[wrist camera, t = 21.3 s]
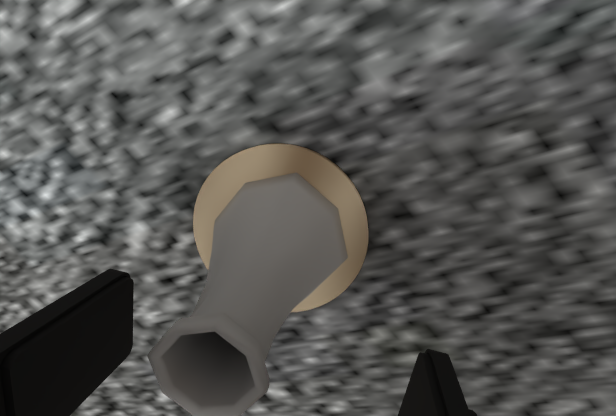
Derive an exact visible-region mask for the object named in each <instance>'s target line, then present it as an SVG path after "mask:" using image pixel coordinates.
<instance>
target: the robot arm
mask: <svg viewBox="0 0 616 416" xmlns="http://www.w3.org/2000/svg"><path fill="white" fill-rule="evenodd" d="M133 284H134V283H133V280H132V279H131V278H130V275H129V274H128V273H126V272H122V271H118V270H114V269H109V270H106V271H105V272H103V273H101V274H100V275H98V276H96V277H95V278H93V279H91V280H90V281H88V282H86V283H85V284H83V285H81V286H80V287H78V288H76V289H75V290H73V291H71V292H70V293H68V294H66V295H65V296H63V297H61V298H60V299H58V300H56V301H55V302H53V303H51V304H50V305H48V306H46V307H45V308H43V309H41V310H39V311H38V312H36V313H34V314H33V315H31V316H29V317H28V318H26V319H24V320H23V321H21V322H19V323H18V324H16V325H14V326H13V327H11V328H9V329H8V330H6V331H4V332H3V333H1V334H0V416H70V415H71V414H72V413H73V412H74V411H75V410H76V409H77V408H78V407H79V406H80V404H81V403H82V402H83V401H84V400H85V399H86V398H87V397H88V396H89V395H90V394H91V393H92V392H93V391H94V390H95V389H96V388H97V387H98V386H99V385H100V384H101V383H102V382H103V381H104V380H105V379H106V378H107V377H108V376H109V375H110V374H111V373H112V372H113V371H114V370H115V369H116V368H117V367H118V366H119V365H120V364H121V363H122V362H123V361H124V360H125V359H126V358H127V356H128V355H129V354H130V352H131V349H132V345H133ZM398 416H477V414H476V413H475V412H474V411H473V410H469V409H468V407H467V404H466V401H465V398H464V396H463V393H462V390H461V387H460V385H459V382H458V379H457V376H456V374H455V371H454V368H453V365H452V363H451V360H450V357H449V355H448V354H446V353H442V352H438V351H434V350H430V349H427V350H426V352H425V353H419V355H418V357H417V360H416V363H415V366H414V369H413V372H412V375H411V378H410V381H409V384H408V387H407V390H406V393H405V396H404V399H403V402H402V405H401V408H400V411H399V414H398Z"/></svg>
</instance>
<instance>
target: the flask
mask: <svg viewBox="0 0 616 416" xmlns="http://www.w3.org/2000/svg"><path fill="white" fill-rule="evenodd" d="M347 258H348V255H347V250H346V246H345V241H344V236H343V231H342V226H341V221H340V216H339V211H338V208H337V207H336V206H334V205H333V204H332V203H331V202H330V201H329V200H328V199H326V198H325V197H324V196H323V195H322V194H321V193H320V192H318V191H317V190H316V189H315V188H314V187H313V186H312V185H310V184H309V183H308V182H307V181H306V180H305V179H304V178H302V177H301V176H300V175H299V174H298V173H292V174H287V175H282V176H277V177H272V178H267V179H262V180H257V181H252V182H247V183H245V184H244V185H243V186H242V187H241V189H240V190H239V191H238V192H237V194H236V195H235V196H234V197H233V198H232V200H231V201H230V202H229V203H228V205H227V206H226V207H225V208H224V210H223V211H222V212H221V213H220V215H219V216H218V217H217V218H216V219H215V223H214V231H213V242H212V252H211V257H210V263H209V269H208V275H207V281H206V285H205V287H204V289H203V291H202V294H201V296H200V298H199V300H198V302H197V305H196V307H195V309H194V311H193V313H192V315H191V316H190V317H185V318H181V319H179V320H178V321H176V322H175V323H174V324H173V326H172V327H171V328H170V329H169V330H168V331H167V332H166V334H165V335H164V336H163V337H162V338H161V339H160V340H159V342H158V343H157V344H156V345H155V346H154V347H153V348H152V350H151V351H150V352H149V354H148V355H147V356H148V358H149V361H150V363H151V366H152V368H153V371H154V373H155V375H156V378H157V380H158V383H159V385H160V388H161V390H162V392H163V393H164V394H165V395H166V396H168V397H169V398H170V399H172V400H173V401H174V402H176V403H177V404H178V405H180V406H181V407H182V408H184V409H185V410H186V411H188V412H189V413H190V414H192V415H193V416H240V415H241V414H243V413H244V412H245V411H246V410H247V409H248V408H249V407H251V406H252V405H253V404H254V403H255V402H256V401H257V400H258V399H260V398H261V397H262V396H263V395H264V394H265V393H266V392H267V390H268V388H269V375H268V372H267V369H266V365H265V361H266V358H267V355H268V352H269V350H270V347H271V344H272V342H273V339H274V337H275V335H276V334H277V332H278V331H279V329H280V328H281V326H282V325H283V323H284V322H285V320H286V319H287V317H288V316H289V314H290V313H291V311H292V309H293V308H294V307H296V306H297V305H298V304H299V303H300V302H302V301H303V300H304V299H305V298H307V297H308V296H309V295H310V294H311V293H312V292H313V291H314V290H315V289H316V288H317V287H318V286H319V285H320V284H321V283H322V282H323V281H325V280H326V279H327V278H328V277H329V276H330V275H331V274H332V273H333V272H334V271H335V270H336V269H337V268H338V267H339V266H340V265H341V264H342V263H343V262H344V261H345V260H346V259H347Z"/></svg>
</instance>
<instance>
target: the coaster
mask: <svg viewBox="0 0 616 416" xmlns="http://www.w3.org/2000/svg"><path fill="white" fill-rule="evenodd" d="M292 173H298V174H299V175H300V176H301V177H302V178H304V179H305V180H306V181H307V182H308V183H309V184H310V185H312V186H313V187H314V188H315V189H316V190H317V191H318V192H320V193H321V194H322V195H323V196H324V197H325V198H326V199H328V200H329V201H330V202H331V203H332V204H333V205H334V206H336V207H337V208H338V211H339V216H340V221H341V226H342V231H343V236H344V241H345V246H346V250H347V255H348V258H347V259H346V260H345V261H344V262H343V263H342V264H341V265H340V266H339V267H338V268H337V269H336V270H335V271H334V272H333V273H332V274H331V275H330V276H329V277H328V278H327V279H326V280H325V281H323V282H322V283H321V284H320V285H319V286H318V287H317V288H316V289H315V290H314V291H313V292H312V293H311V294H310V295H309V296H308V297H307V298H305V299H304V300H303V301H302V302H300V303H299V304H298V305H297V306H296V307H294V308H293V309H292V311H291V312H300V311H305V310H310V309H313V308H316V307H319V306H321V305H324V304H326V303H328V302H330V301H331V300H333V299H334V298H336V297H337V296H339V295H340V294H341V293H342V292H343V291H345V290H346V289H347V287H348V286H349V285H350V284H351V283H352V282H353V280H354V279H355V277H356V276H357V275H358V273H359V271H360V269H361V267H362V265H363V262H364V259H365V256H366V252H367V247H368V233H369V231H368V222H367V215H366V211H365V207H364V204H363V201H362V199H361V197H360V194H359V192H358V191H357V189H356V187H355V185H354V184H353V182H352V181H351V180H350V179H349V177H348V176H347V175H346V174H345V173H344V172H343V171H342V170H341V169H340V168H339V167H338V166H337V165H336V164H335V163H333V162H332V161H331V160H329V159H328V158H326V157H324V156H323V155H321V154H319V153H317V152H315V151H313V150H310V149H308V148H305V147H301V146H297V145H292V144H283V143H275V144H264V145H259V146H255V147H252V148H248V149H246V150H243V151H241V152H239V153H236V154H234V155H232V156H231V157H229V158H228V159H226V160H225V161H223V162H222V163H221V164H220V165H219V166H217V167H216V168H215V169H214V170H213V172H212V173H211V174H210V175H209V176H208V178H207V179H206V181H205V182H204V184H203V185H202V187H201V190H200V192H199V194H198V197H197V200H196V204H195V208H194V215H193V230H194V237H195V241H196V245H197V249H198V251H199V254H200V256H201V259H202V261H203V262H204V264H205V266H206V268H207V269H209V263H210V257H211V252H212V242H213V231H214V223H215V219H216V218H217V217H218V216H219V215H220V213H221V212H222V211H223V210H224V208H225V207H226V206H227V205H228V203H229V202H230V201H231V200H232V198H233V197H234V196H235V195H236V194H237V192H238V191H239V190H240V189H241V187H242V186H243V185H244V184H245V183H247V182H252V181H257V180H262V179H267V178H272V177H277V176H282V175H287V174H292Z"/></svg>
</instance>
